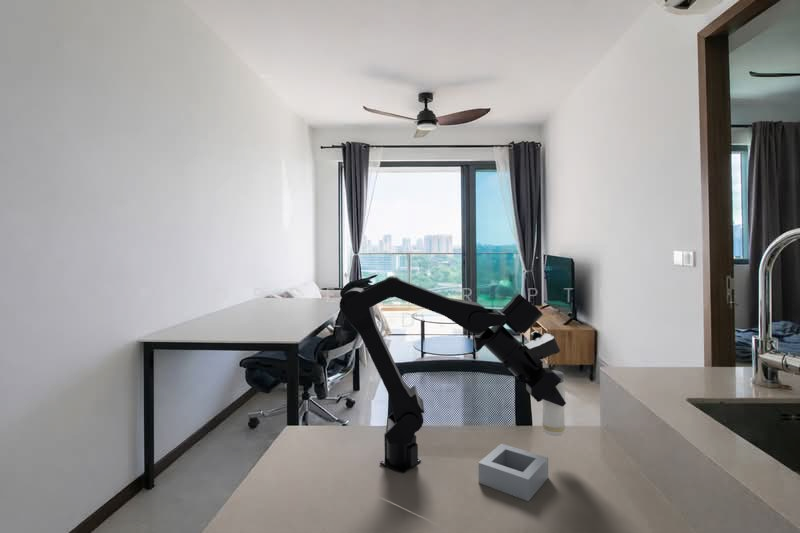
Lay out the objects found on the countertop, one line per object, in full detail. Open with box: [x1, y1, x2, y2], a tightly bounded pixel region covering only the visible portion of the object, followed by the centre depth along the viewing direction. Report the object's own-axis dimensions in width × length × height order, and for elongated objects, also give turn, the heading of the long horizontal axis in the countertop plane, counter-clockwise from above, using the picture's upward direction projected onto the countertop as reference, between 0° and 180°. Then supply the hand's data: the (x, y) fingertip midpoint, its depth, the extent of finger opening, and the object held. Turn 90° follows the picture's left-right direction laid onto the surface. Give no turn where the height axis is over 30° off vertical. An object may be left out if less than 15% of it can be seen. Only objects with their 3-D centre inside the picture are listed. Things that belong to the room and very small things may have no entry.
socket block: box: [478, 443, 549, 502], centre depth 84 cm, size 10×10×4 cm
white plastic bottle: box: [541, 369, 566, 437], centre depth 91 cm, size 4×4×12 cm
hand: (560, 400), depth 91 cm, fingers closed on white plastic bottle, 4 cm apart
